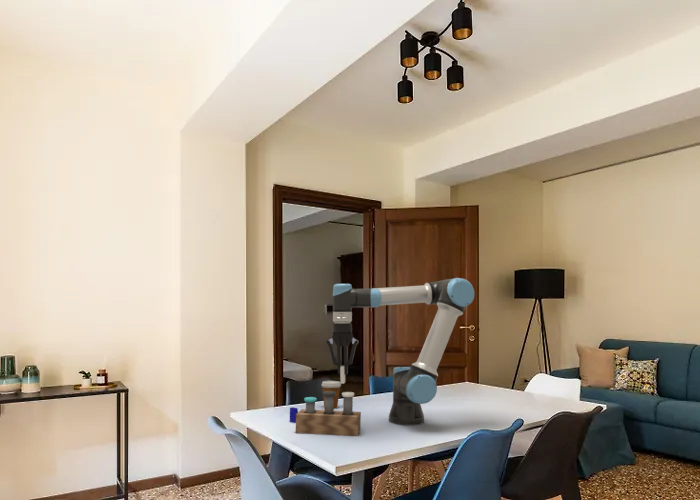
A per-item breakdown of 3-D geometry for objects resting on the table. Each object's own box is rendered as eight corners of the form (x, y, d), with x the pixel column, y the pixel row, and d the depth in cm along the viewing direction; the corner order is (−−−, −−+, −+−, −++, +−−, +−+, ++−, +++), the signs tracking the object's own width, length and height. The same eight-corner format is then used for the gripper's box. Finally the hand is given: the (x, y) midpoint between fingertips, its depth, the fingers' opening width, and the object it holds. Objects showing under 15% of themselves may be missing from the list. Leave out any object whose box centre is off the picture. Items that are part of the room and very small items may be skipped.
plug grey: (354, 415, 205) (355, 392, 206) (353, 418, 200) (353, 394, 201) (342, 414, 206) (343, 391, 207) (340, 417, 201) (341, 393, 202)
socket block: (360, 429, 207) (360, 411, 207) (357, 436, 197) (357, 417, 198) (301, 426, 210) (302, 409, 211) (295, 432, 200) (296, 414, 201)
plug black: (335, 414, 206) (336, 391, 207) (333, 417, 201) (334, 393, 202) (324, 414, 207) (324, 390, 208) (321, 416, 202) (322, 392, 203)
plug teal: (317, 420, 207) (317, 397, 208) (314, 423, 202) (315, 399, 203) (305, 419, 208) (305, 396, 208) (302, 422, 203) (303, 398, 204)
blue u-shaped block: (297, 424, 216) (297, 409, 217) (289, 422, 219) (289, 407, 219) (316, 419, 226) (316, 404, 226) (308, 417, 228) (308, 403, 229)
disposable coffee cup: (332, 410, 243) (332, 384, 244) (316, 407, 249) (317, 382, 250) (344, 407, 251) (345, 382, 252) (329, 404, 256) (329, 380, 258)
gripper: (324, 323, 204) (324, 384, 202) (357, 322, 202) (357, 384, 200) (328, 322, 212) (328, 381, 210) (359, 322, 210) (360, 381, 208)
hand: (342, 382), depth 205 cm, fingers closed
